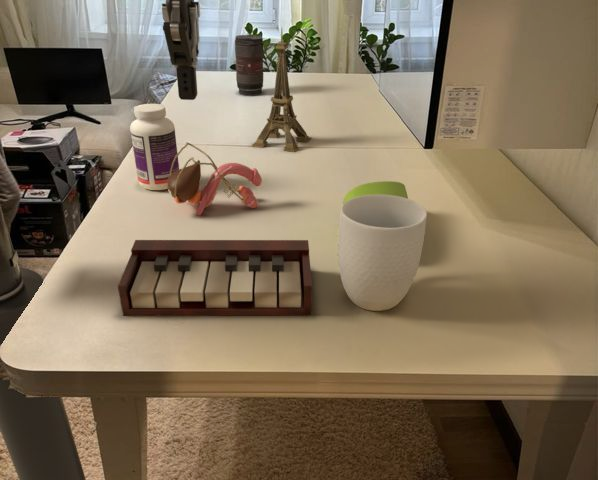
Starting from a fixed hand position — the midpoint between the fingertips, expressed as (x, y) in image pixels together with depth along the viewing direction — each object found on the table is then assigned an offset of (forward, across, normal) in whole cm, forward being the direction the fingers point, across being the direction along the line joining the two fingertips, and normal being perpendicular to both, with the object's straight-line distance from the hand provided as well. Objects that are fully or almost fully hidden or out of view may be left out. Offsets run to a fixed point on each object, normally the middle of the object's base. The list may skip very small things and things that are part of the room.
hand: (188, 98), depth 76 cm
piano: (+24, +9, +4) cm, 26 cm away
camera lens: (+24, -106, +2) cm, 109 cm away
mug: (+24, +9, +26) cm, 36 cm away
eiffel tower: (+24, -60, +12) cm, 65 cm away
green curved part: (+24, -10, +28) cm, 38 cm away
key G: (+22, +10, +7) cm, 25 cm away
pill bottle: (+24, -32, -12) cm, 42 cm away
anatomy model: (+24, -21, 0) cm, 32 cm away
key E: (+22, +10, 0) cm, 24 cm away
